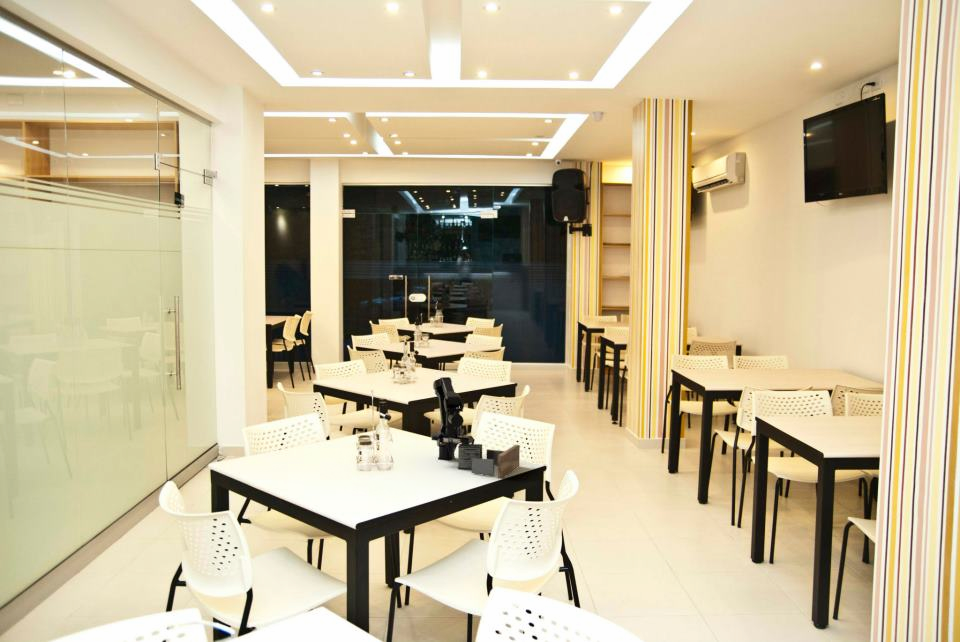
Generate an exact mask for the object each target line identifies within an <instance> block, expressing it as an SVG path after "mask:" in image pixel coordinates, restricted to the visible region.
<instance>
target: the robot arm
mask: <svg viewBox="0 0 960 642" xmlns="http://www.w3.org/2000/svg"><path fill="white" fill-rule="evenodd" d="M432 385H433V386H432V388H433V390H434V394H435V395H436V397H437V398H438V402H439V403H438V405H439V415H440V423H441V427H440V429H439V431H437V432H435V433H432V435H431V441H436V446H437V447H438V457H437V458H438V459H437V460H443V459H444V460H443V461H451V460H453V459H454V457H455V458H456V456H455V452H456V450H457V448H458V446H459V444H473V442H474V437H473V436H472V435H467V434H465V433H464V432H465V429H464V428H462V426H463V424H464V417H463V416H462V414H460V413H461V412H464V404H463V400H462V397H460V395H459V393H457V392H455V390H454V386H453V380H452V378H451V377H449V376H447V377H446V376H445V377H443V376H442V377H440V378H438V379H435V380H434V381H433V384H432Z"/></svg>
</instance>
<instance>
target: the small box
mask: <svg viewBox="0 0 960 642" xmlns="http://www.w3.org/2000/svg"><path fill="white" fill-rule="evenodd" d="M457 448H458V451H457V453H458V456H457V458H458V459H457V460H458V461H457V462H458V463H457V464H458V465H457V469H458V470H472V458H482V459H483V444H481V443H470V444H462V443H459V444H458V445H457Z"/></svg>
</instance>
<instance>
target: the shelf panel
mask: <svg viewBox="0 0 960 642" xmlns="http://www.w3.org/2000/svg"><path fill="white" fill-rule="evenodd" d="M520 447H521V445H519V444H514V445H513V446H512V447H509V448H507V449H506V450H503V451H504V452H503V453H501V454H500V455H498V466H497V471H498V472H497V479H499V478H500V480H502V479H505V478H506V477H507V476H508V475H510V474H511V473H513V472H514V471H515V470H514V469H516V468H517V467H518V468H520V451H521V450H520ZM518 468H517V469H518ZM517 469H516V470H517ZM513 470H514V471H513ZM512 471H513V472H512ZM510 472H511V473H510ZM509 473H510V474H509ZM506 475H507V476H506ZM505 476H506V477H505Z"/></svg>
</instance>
